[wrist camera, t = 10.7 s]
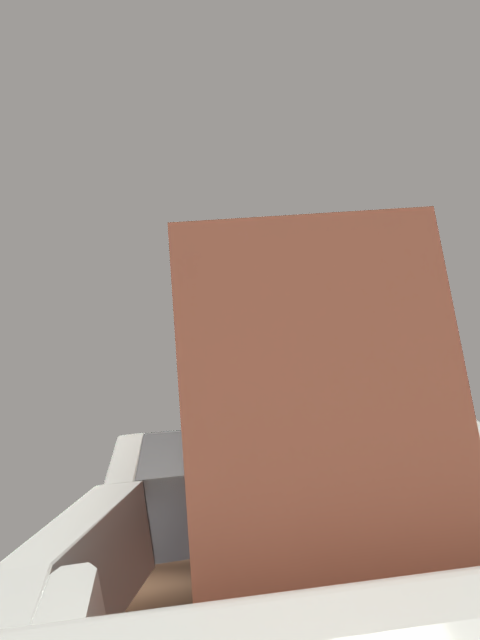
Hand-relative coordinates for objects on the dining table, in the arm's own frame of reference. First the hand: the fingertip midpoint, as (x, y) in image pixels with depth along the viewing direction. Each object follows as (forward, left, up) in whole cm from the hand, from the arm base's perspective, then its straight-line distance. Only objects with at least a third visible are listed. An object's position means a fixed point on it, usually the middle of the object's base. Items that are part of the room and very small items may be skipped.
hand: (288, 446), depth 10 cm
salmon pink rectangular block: (-7, -5, -4) cm, 9 cm away
